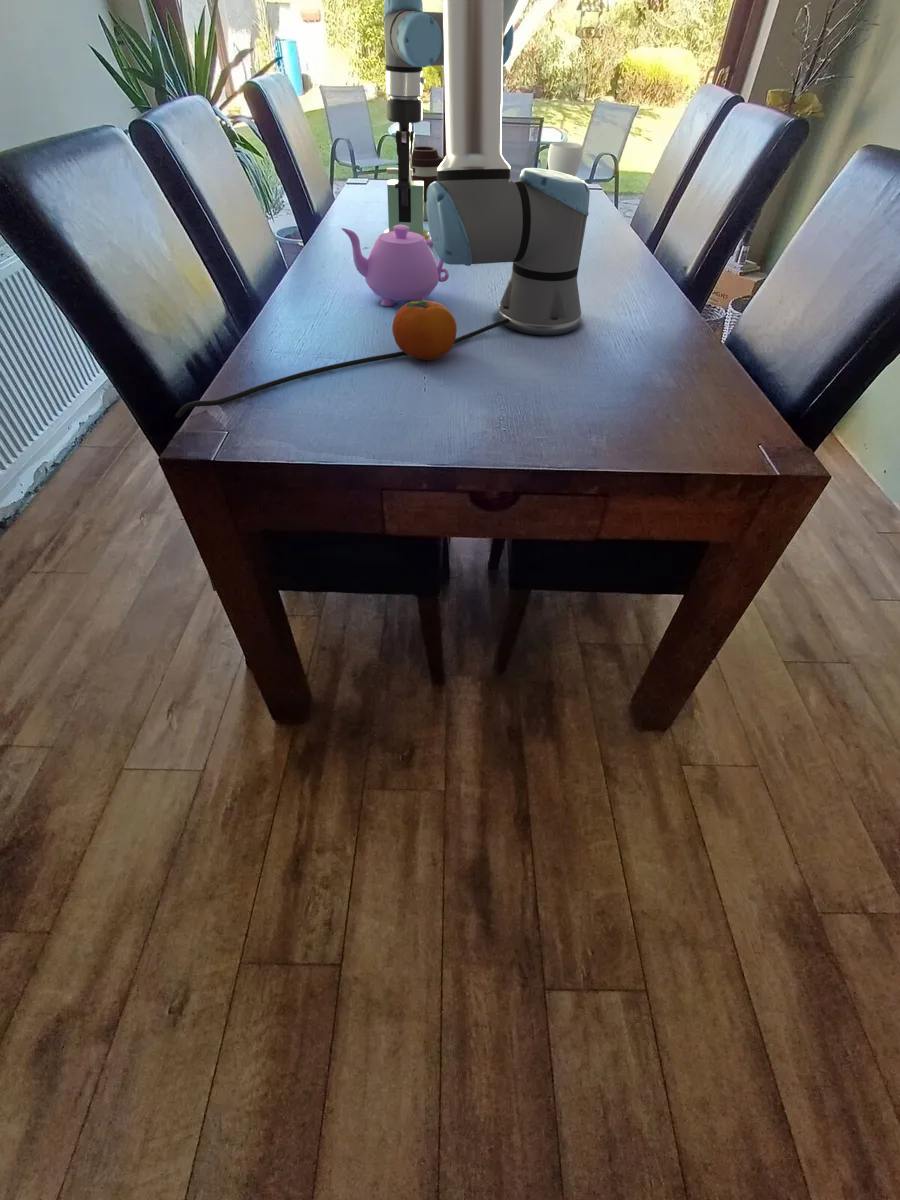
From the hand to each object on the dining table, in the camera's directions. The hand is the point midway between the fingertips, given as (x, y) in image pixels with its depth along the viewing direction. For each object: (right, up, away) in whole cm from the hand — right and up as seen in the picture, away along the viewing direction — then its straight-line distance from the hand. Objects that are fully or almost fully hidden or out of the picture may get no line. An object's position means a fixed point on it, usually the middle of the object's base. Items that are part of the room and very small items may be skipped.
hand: (406, 214), depth 146 cm
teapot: (0, -30, -22) cm, 37 cm away
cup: (+40, +16, +27) cm, 51 cm away
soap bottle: (0, -3, +3) cm, 5 cm away
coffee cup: (+3, +12, +22) cm, 25 cm away
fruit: (+6, -49, -41) cm, 64 cm away
